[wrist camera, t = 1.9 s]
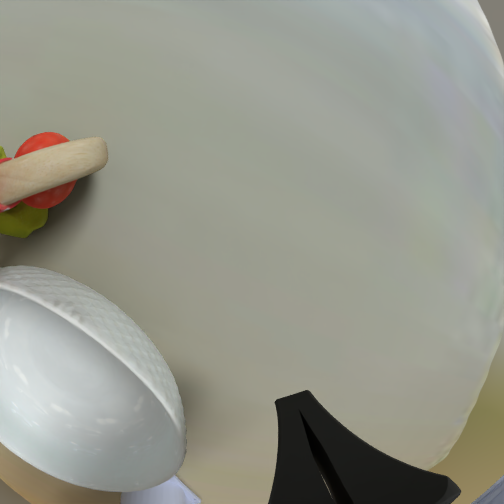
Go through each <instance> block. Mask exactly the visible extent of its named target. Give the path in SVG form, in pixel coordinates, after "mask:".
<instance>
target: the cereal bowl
mask: <svg viewBox="0 0 504 504" xmlns="http://www.w3.org/2000/svg"><path fill="white" fill-rule="evenodd" d="M185 422H186V420H185V418H184V408H183V406H182V401H181V397H180V395H179V391H178V387H177V385H176V383H175V379H174V377H173V374H172V373H171V372H170V369H169V367H168V364H167V363H166V362H165V361H164V359H163V357H162V355H161V354H160V353H159V351H158V350H157V348H156V347H155V345H154V344H153V342H152V341H151V340H150V339H149V338H148V336H147V335H146V334H145V332H144V331H143V330H141V328H140V327H139V326H138V325H137V324H136V323H134V321H133V320H132V318H130V317H128V316H127V315H126V313H124V312H123V311H122V310H120V309H119V308H118V306H117V305H115V304H113V303H112V302H111V301H110V300H108V299H106V298H105V297H104V296H103V295H101V294H99V293H98V292H97V291H94V290H93V289H92V288H90V287H88V286H86V285H84V284H83V283H80V282H78V281H76V280H74V279H71V278H70V277H68V276H65V275H63V274H60V273H57V272H56V271H50V270H48V269H45V268H38V267H34V266H24V265H19V266H7V267H4V268H0V442H1V443H2V444H3V445H4V446H6V447H7V448H8V449H9V450H11V451H12V452H13V453H14V454H16V455H17V456H19V457H20V458H21V459H23V460H24V461H26V462H27V463H29V464H31V465H32V466H34V467H36V468H38V469H39V470H41V471H43V472H45V473H47V474H49V475H51V476H54V477H56V478H58V479H60V480H63V481H66V482H68V483H71V484H74V485H78V486H81V487H86V488H90V489H95V490H101V491H109V492H133V491H140V490H145V489H149V488H153V487H155V486H158V485H160V484H162V483H164V482H166V481H168V480H169V479H171V478H172V477H173V476H174V475H175V474H176V473H177V472H178V471H179V469H180V468H181V466H182V464H183V461H184V458H185V454H186V444H187V439H186V431H187V430H186V427H185Z"/></svg>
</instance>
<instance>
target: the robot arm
mask: <svg viewBox="0 0 504 504" xmlns="http://www.w3.org/2000/svg"><path fill="white" fill-rule="evenodd" d="M275 405H276V410H277V416H278V452H277V462H276V470H275V476H274V481H273V486H272V491H271V495H270V498H269V502H268V504H451V503H452V502H453V501H454V500H455V499H456V498H457V497H458V496H459V495H460V493H461V490H460V489H459V487H458V486H457V485H456V484H455V483H454V482H453V481H452V480H451V479H450V478H449V477H447V476H444V475H440V474H436V473H432V472H429V471H425V470H422V469H419V468H417V467H414V466H411V465H408V464H406V463H404V462H401V461H399V460H397V459H395V458H392V457H390V456H388V455H386V454H385V453H383V452H381V451H379V450H377V449H376V448H374V447H372V446H371V445H369V444H367V443H366V442H364V441H363V440H362V439H360V438H359V437H357V436H356V435H355V434H353V433H352V432H351V431H349V430H348V429H347V428H346V427H344V426H343V425H342V424H341V423H340V422H339V421H337V420H336V419H335V418H334V417H333V416H332V415H331V414H330V413H329V412H328V411H327V410H326V409H325V408H324V407H323V406H322V405H321V404H320V403H319V402H318V401H317V400H316V398H315V397H314V396H313V395H312V393H311V392H310V391H308V390H305V391H302V392H299V393H296V394H293V395H290V396H287V397H283V398H280V399H277V400H276V401H275ZM321 475H322V476H321ZM322 477H323V478H322ZM323 479H324V480H325V482H326V484H327V486H326V484H325V482H324V480H323ZM327 487H328V488H327ZM328 489H329V490H328ZM329 491H330V493H331V495H330V493H329ZM331 496H332V497H331ZM332 498H333V499H332ZM196 503H201V499H199V498H198V497H197V496H196V495H195V494H194V493H193V492H192V491H191V490H190V489H189V488H188V487H187V486H186V485H184V484H183V483H182V482H181V481H180V480H179V479H178V478H177V477H176V476H175V475H174V476H173V477H172V478H171V479H169V480H168V481H166V482H164V483H162V484H160V485H158V486H155V487H153V488H149V489H145V490H140V491H133V492H122V493H121V502H120V504H196ZM471 504H504V475H503V476H502V477H501V478H500V479H499V480H498V481H497V482H496V483H495V484H494V485H492V486H491V487H490V488H489V489H488V490H487V491H486V492H485V493H483V494H482V495H481V496H480V497H479V498H477V499H476V500H475V501H474V502H472V503H471Z"/></svg>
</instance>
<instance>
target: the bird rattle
mask: <svg viewBox="0 0 504 504" xmlns="http://www.w3.org/2000/svg"><path fill="white" fill-rule="evenodd" d="M107 161H108V150H107V145H106V143H105V141H104V140H103V139H102V138H100V137H90V138H84V139H78V140H74V141H69V140H68V139H67V138H65V137H64V136H62V135H60V134H58V133H54V132H45V133H40V134H37V135H34V136H32V137H31V138H29V139H28V140H27V141H25V142H24V143H23V144H22V146H21V147H20V148H19V149H18V151H17V153H16V155H15V157H14V158H7V157H6V155H5V152H4V149H3V147H2V146H0V233H1V234H5V235H9V236H14V237H20V238H27V237H28V236H29V234H30V233H31V232H32V231H33V230H36V229H38V228H41V227H43V226H44V224H45V223H46V221H47V219H48V208H50V207H53V206H55V205H57V204H59V203H61V202H62V201H63V200H64V199H65V198H66V197H67V196H68V195H69V194H70V193H71V191H72V190H73V188H74V185H75V183H76V181H77V179H79V178H82V177H84V176H87V175H89V174H92V173H94V172H96V171H98V170H100V169H102V168H103V167H104V166H105V165H106V163H107Z"/></svg>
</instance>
